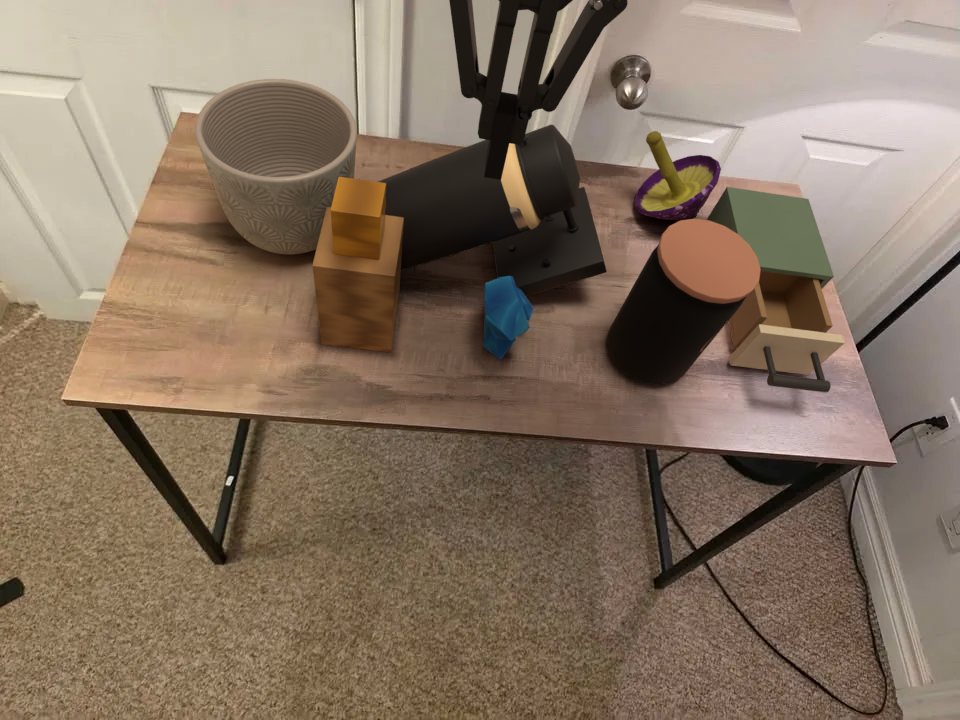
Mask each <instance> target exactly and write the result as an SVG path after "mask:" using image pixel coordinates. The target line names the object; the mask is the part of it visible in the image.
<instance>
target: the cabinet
mask: <svg viewBox="0 0 960 720" xmlns="http://www.w3.org/2000/svg"><path fill="white" fill-rule="evenodd" d="M706 220H709V221H712V222H715V223H718V224H720V225H723V226H725V227H727V228H729V229H730V230H732V231H734V232H735V233H737V234H738V235H739V236H740V237H742V238H743V239H744V240H745V241H746V242H747V243H748V244H749V245H750V247H751V248H752V250H753V251H754V253H755V254H756V256H757V258H758V262H759V265H760V269H761V270H760V271H764V272H772V273H779V274H786V275H794V276H801V277H808V278H816V279H818V280H819V283H820V286H821V289H822V290H823V289H824V288H825V287H826V285H827V284H828V283H829V282H830V281H832V280H833V278H835V277H834V276H835V275H834V273H833V269H832V267H831V263H830V260H829V257H828V254H827V251H826V248H825V245H824V242H823V239H822V236H821V233H820V230H819V227H818V224H817V221H816V218H815V215H814V211H813V209H812V205H811V201H810V199H809V198H805V197H798V196H791V195H785V194H779V193H771V192H764V191H758V190H751V189H744V188H737V187H732V186H726V187H725V189H724V191H723V192H722V194H721V195H720V197H719V199H718V201H717V202H716V203H715V205H714V207H713V208H712V210H711V212H710V213H709V215H708V217H706Z"/></svg>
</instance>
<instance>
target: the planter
mask: <svg viewBox="0 0 960 720" xmlns="http://www.w3.org/2000/svg"><path fill="white" fill-rule="evenodd" d="M194 134H195V135H194V136H195V140H196V143H197V146H198V148H199V151H200V153H201V156H202V159H203V161H204V165H205V166H206V169H207V172H208V175H209V177H210V180H211V182H212V185H213V187H214V191H215V193H216V196H217V198H218V201H219V203H220V204H219V205H220V206H221V209H222V211H223V213H224V216H225V217H226V218H227V220H228V222H229V223H230V224H231V226H232V227H233V229H234V230H235V231H236V232H237V233H238V234H239V235H240V236H241V237H242V239H245V240H246V241H247V242H248V243H250V244H251V245H253V246H255V247H256V248H259V249H261V250H264V251H267V252H270V253H273V254H281V255H299V254H306V253H309V252H313V251H316V249H317V245H318V241H319V237H320V232H321V228H322V224H323V220H324V216H325V212H326V208H327V207H331V206H332V202H333V198H334V193H335V189H336V185H337V181H338V177H346V178H353V179H355V169H356V155H357V154H356V153H357V142H358V141H357V140H358V128H357V122H356V120H355V118H354V115H353V113H352V112H351V110H350V109H349V108H348V106H347V105H346V104H345V103H344V102H343V101H342V100H341V99H339V98H338V97H337V96H336V95H335V94H333V93H331V92H330V91H327V90H326V89H323V88H322V87H319V86H316V85H314V84H311V83H308V82H303V81H299V80H294V79H288V78H286V79H285V78H263V79H255V80H250V81H244V82H241V83H238V84H235V85H232V86H231V87H228V88H226V89H224V90H221V91H220V92H218V93H217V94H215V95H214V96H213V97H212V98H210V99H209V100H208V101H207V102H206V103H205V105H204V106H202V108H201V110H200V111H199V113H198V115H197V117H196V121H195V125H194Z"/></svg>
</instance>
